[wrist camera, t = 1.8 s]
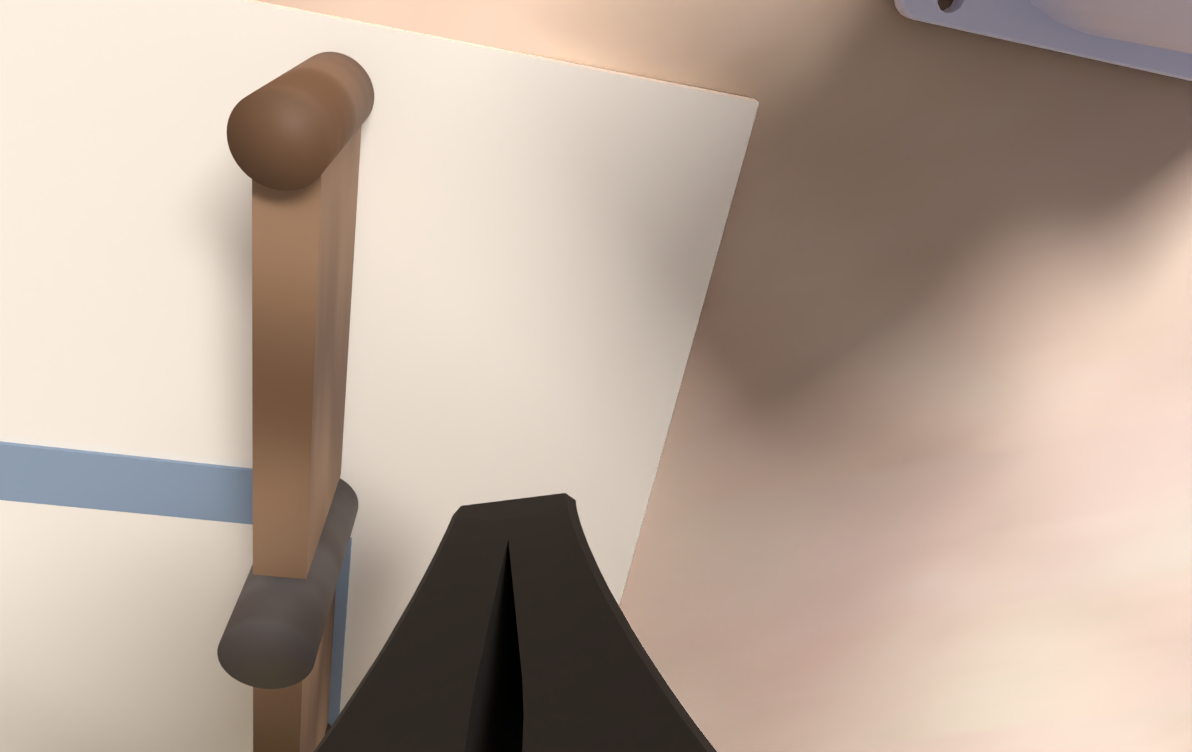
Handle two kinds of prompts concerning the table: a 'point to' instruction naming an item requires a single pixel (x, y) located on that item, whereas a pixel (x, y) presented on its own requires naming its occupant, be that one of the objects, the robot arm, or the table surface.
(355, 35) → the card
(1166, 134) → the table surface
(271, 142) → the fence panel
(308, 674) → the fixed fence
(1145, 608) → the table surface
